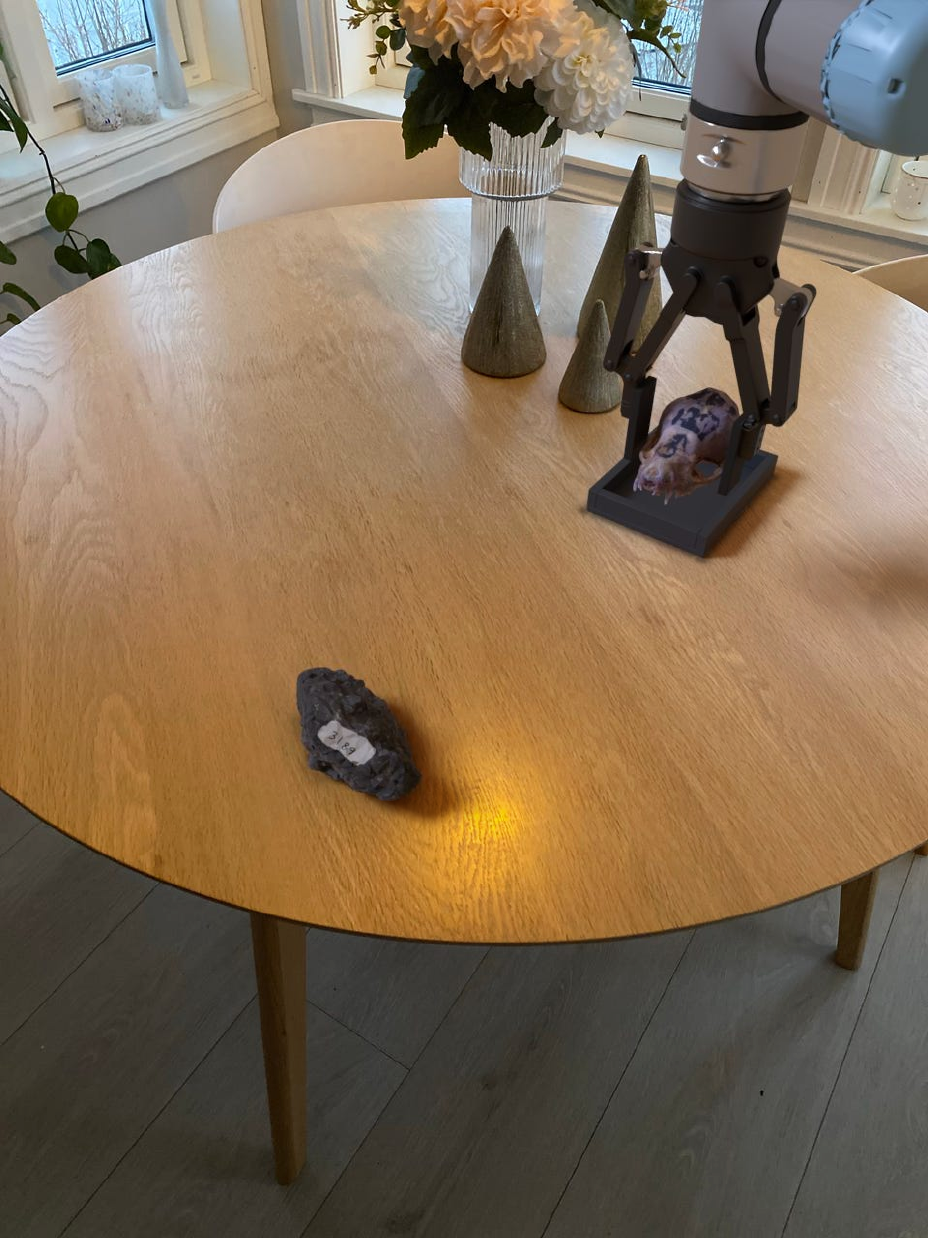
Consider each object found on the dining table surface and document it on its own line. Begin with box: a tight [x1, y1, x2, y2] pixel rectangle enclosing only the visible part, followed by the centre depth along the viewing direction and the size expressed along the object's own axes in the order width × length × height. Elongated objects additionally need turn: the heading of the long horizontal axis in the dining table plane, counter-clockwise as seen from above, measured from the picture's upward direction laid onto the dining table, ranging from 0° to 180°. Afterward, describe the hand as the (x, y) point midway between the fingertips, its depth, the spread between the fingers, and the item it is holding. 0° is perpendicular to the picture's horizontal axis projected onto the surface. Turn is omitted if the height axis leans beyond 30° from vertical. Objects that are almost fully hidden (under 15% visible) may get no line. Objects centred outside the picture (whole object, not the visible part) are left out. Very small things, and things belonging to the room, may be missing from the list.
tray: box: [586, 425, 779, 559], centre depth 99 cm, size 13×17×3 cm
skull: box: [634, 386, 741, 505], centre depth 78 cm, size 12×8×6 cm, turn 135°
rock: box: [295, 666, 424, 801], centre depth 73 cm, size 12×8×10 cm
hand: (680, 468), depth 79 cm, fingers closed on skull, 8 cm apart
